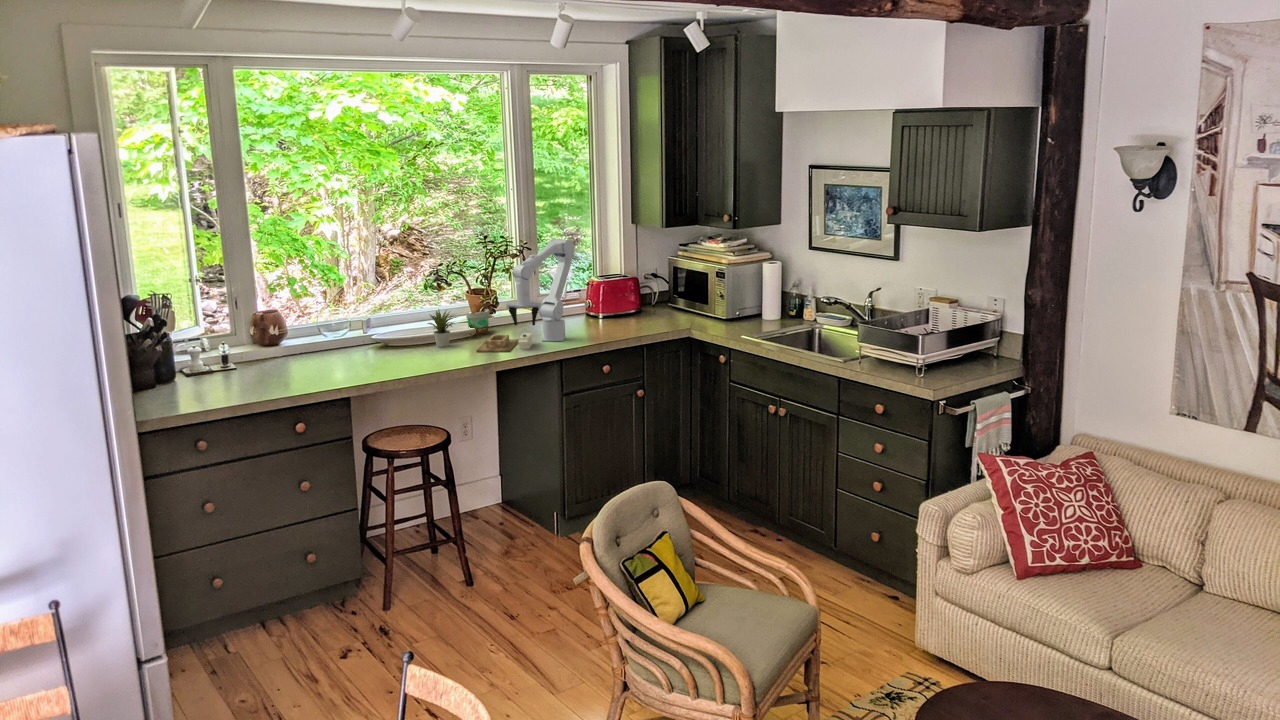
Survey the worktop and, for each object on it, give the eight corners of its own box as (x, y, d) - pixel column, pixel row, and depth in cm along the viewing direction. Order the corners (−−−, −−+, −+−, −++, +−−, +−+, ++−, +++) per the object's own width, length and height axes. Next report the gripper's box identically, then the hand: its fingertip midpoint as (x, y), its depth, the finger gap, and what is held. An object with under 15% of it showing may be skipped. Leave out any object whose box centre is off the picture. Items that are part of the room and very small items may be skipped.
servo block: (533, 343, 432) (532, 330, 431) (527, 350, 420) (526, 337, 418) (524, 343, 433) (523, 330, 431) (518, 350, 420) (517, 337, 419)
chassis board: (519, 341, 436) (518, 332, 435) (509, 352, 417) (508, 343, 416) (487, 341, 437) (486, 332, 436) (476, 352, 418) (475, 343, 417)
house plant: (451, 351, 421) (449, 312, 417) (421, 350, 424) (418, 312, 420) (464, 343, 435) (461, 306, 431) (434, 342, 437) (431, 305, 433)
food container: (476, 336, 446) (475, 314, 443) (467, 335, 449) (465, 313, 447) (496, 331, 455) (495, 310, 453) (487, 330, 459) (485, 308, 456)
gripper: (504, 295, 417) (505, 327, 421) (538, 295, 416) (540, 326, 419) (507, 291, 424) (509, 323, 427) (541, 291, 423) (543, 323, 426)
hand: (524, 324), depth 424 cm, fingers open, 7 cm apart
